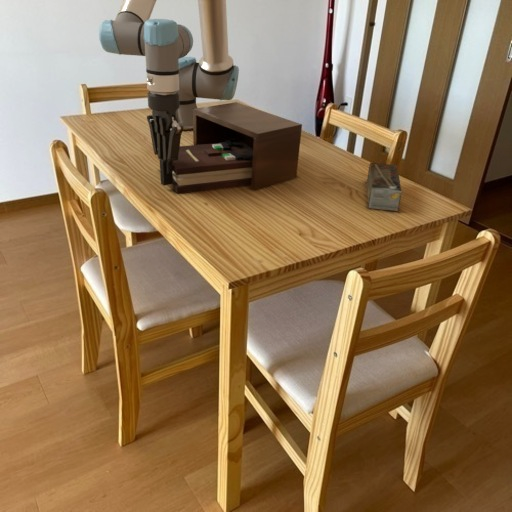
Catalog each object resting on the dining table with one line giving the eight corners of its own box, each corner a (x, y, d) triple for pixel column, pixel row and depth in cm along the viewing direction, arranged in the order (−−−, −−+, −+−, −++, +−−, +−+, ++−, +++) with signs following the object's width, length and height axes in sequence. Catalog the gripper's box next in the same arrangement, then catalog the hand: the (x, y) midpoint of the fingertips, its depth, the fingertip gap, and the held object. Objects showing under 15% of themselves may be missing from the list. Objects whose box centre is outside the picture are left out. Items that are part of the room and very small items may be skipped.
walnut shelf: (193, 160, 148) (193, 108, 140) (234, 150, 158) (236, 102, 150) (254, 190, 131) (258, 133, 123) (296, 177, 141) (302, 124, 133)
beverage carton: (366, 208, 125) (371, 184, 121) (365, 181, 141) (369, 159, 138) (397, 212, 124) (403, 188, 120) (393, 184, 140) (398, 163, 137)
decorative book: (150, 144, 135) (248, 136, 146) (151, 169, 139) (247, 160, 150) (168, 168, 120) (276, 157, 132) (169, 196, 124) (274, 183, 135)
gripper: (135, 87, 117) (141, 178, 129) (165, 99, 109) (168, 195, 121) (161, 84, 122) (165, 173, 134) (192, 95, 114) (193, 188, 126)
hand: (166, 183), depth 127 cm, fingers closed
